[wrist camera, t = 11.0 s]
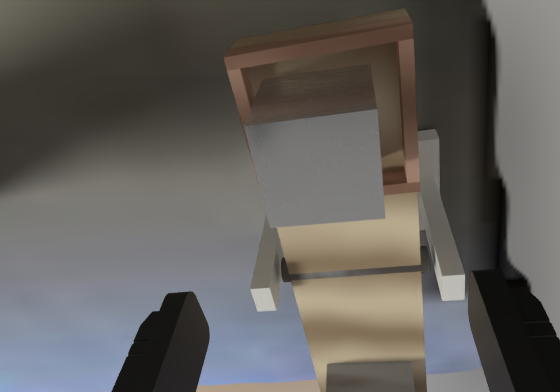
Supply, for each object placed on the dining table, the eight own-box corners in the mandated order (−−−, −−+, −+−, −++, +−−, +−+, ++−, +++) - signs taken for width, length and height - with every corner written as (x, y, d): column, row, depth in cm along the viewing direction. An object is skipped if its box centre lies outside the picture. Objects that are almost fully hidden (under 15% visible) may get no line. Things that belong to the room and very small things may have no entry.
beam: (430, 386, 36) (440, 437, 33) (319, 388, 38) (317, 437, 35) (416, 5, 20) (431, 30, 17) (225, 41, 22) (205, 69, 19)
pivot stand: (437, 217, 36) (470, 333, 27) (280, 231, 39) (262, 342, 30) (435, 128, 32) (474, 231, 23) (259, 152, 35) (230, 252, 25)
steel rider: (281, 168, 24) (270, 228, 20) (262, 79, 21) (243, 126, 17) (377, 158, 23) (385, 218, 19) (369, 63, 20) (377, 109, 16)
